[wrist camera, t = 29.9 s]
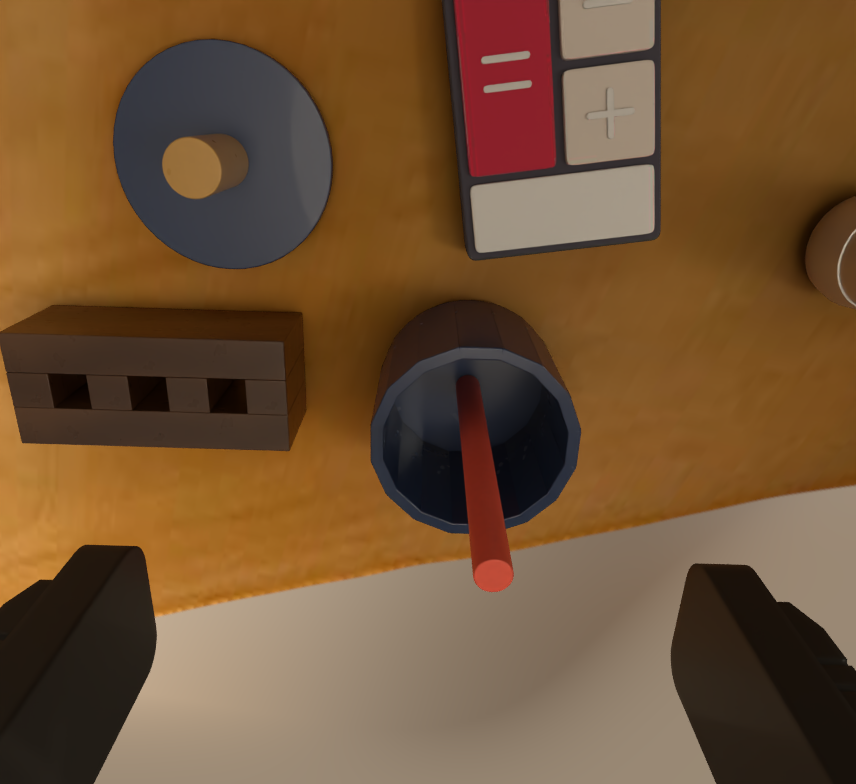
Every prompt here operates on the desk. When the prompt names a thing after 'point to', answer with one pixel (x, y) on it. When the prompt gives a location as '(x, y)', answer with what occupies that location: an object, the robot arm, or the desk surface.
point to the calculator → (555, 122)
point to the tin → (503, 405)
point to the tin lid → (223, 154)
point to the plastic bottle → (834, 254)
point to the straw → (482, 492)
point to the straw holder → (157, 377)
